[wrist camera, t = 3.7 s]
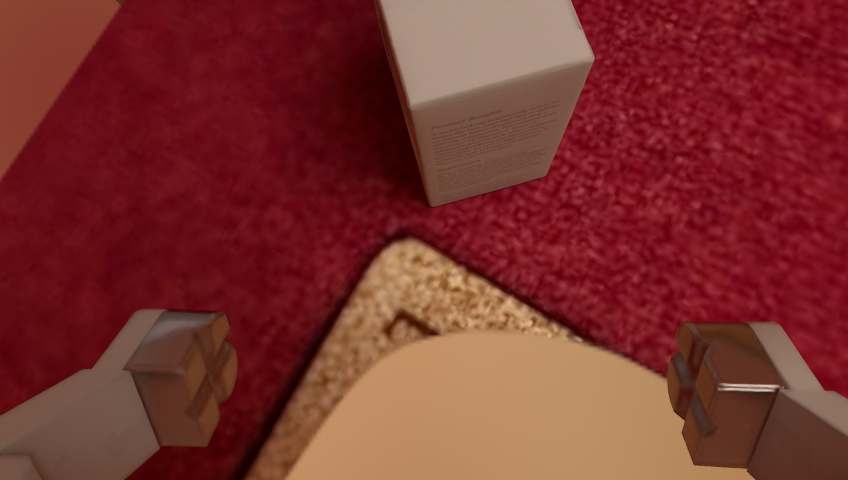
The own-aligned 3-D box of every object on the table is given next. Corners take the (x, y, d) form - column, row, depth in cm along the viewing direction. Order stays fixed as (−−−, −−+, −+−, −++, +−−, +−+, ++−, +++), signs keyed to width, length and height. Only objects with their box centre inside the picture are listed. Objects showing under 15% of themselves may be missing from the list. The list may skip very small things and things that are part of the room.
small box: (386, 57, 29) (341, -119, 19) (499, 27, 29) (516, -168, 19) (428, 212, 27) (403, 110, 17) (549, 180, 27) (598, 57, 17)
